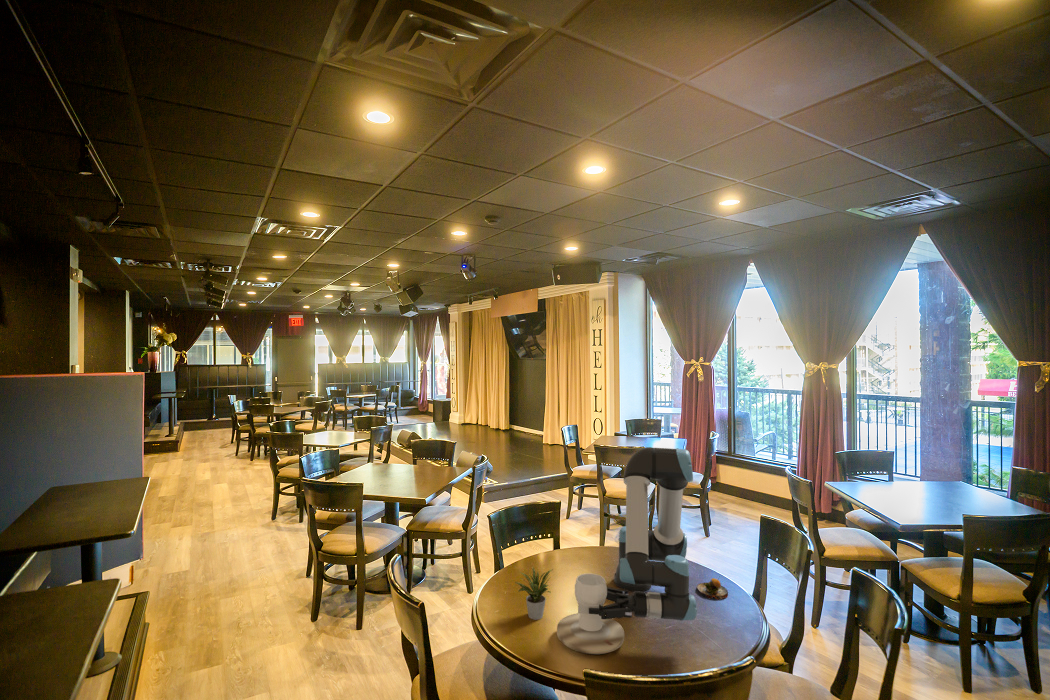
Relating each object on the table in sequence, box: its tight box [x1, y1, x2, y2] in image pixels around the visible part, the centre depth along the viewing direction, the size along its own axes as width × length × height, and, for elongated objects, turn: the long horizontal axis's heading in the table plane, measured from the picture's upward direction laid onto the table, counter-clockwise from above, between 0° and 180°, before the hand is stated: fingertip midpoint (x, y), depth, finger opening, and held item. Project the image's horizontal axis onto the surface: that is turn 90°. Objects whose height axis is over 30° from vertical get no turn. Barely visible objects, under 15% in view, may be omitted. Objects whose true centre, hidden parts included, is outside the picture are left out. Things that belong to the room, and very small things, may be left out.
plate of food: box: [696, 576, 729, 601], centre depth 202 cm, size 12×12×8 cm
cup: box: [574, 573, 608, 631], centre depth 166 cm, size 11×11×15 cm
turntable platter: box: [556, 612, 625, 655], centre depth 166 cm, size 22×22×2 cm
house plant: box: [514, 566, 554, 621], centre depth 183 cm, size 14×14×16 cm
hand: (578, 600), depth 167 cm, fingers closed on cup, 10 cm apart
